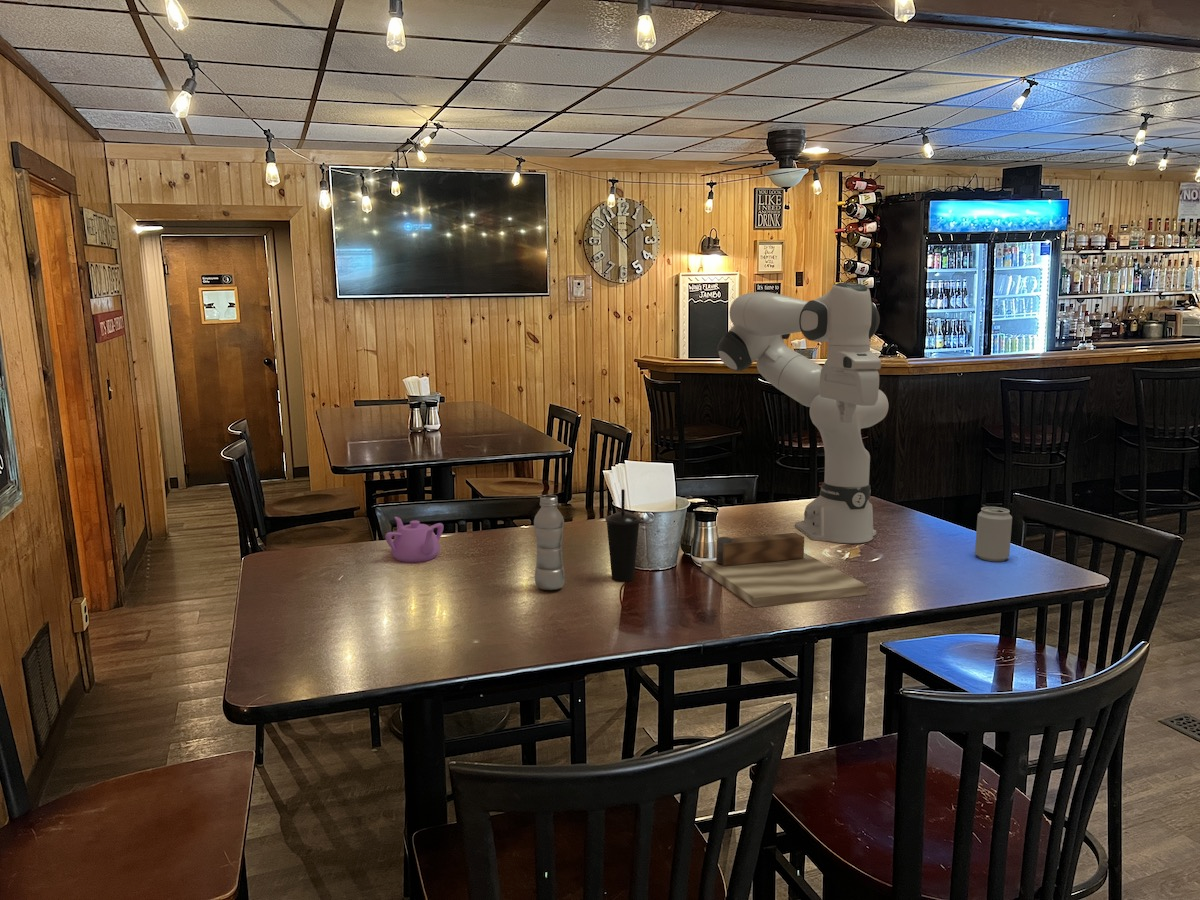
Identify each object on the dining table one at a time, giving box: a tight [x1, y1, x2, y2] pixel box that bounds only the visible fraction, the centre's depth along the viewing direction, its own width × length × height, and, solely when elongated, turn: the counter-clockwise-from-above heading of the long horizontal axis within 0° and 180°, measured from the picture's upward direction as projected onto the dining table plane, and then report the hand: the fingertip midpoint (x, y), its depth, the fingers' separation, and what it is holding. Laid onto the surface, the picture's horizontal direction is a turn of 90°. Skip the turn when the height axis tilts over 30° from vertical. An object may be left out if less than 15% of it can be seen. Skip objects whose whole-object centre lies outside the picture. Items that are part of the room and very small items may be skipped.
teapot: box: [384, 516, 444, 564], centre depth 208 cm, size 12×14×9 cm
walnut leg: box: [715, 532, 805, 566], centre depth 197 cm, size 21×4×6 cm, turn 108°
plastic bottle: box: [533, 494, 566, 591], centre depth 183 cm, size 6×7×20 cm
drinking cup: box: [604, 488, 641, 583], centre depth 190 cm, size 8×8×20 cm
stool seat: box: [700, 552, 869, 608], centre depth 189 cm, size 26×26×5 cm
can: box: [974, 506, 1013, 562], centre depth 206 cm, size 8×8×12 cm
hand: (845, 422), depth 191 cm, fingers closed
